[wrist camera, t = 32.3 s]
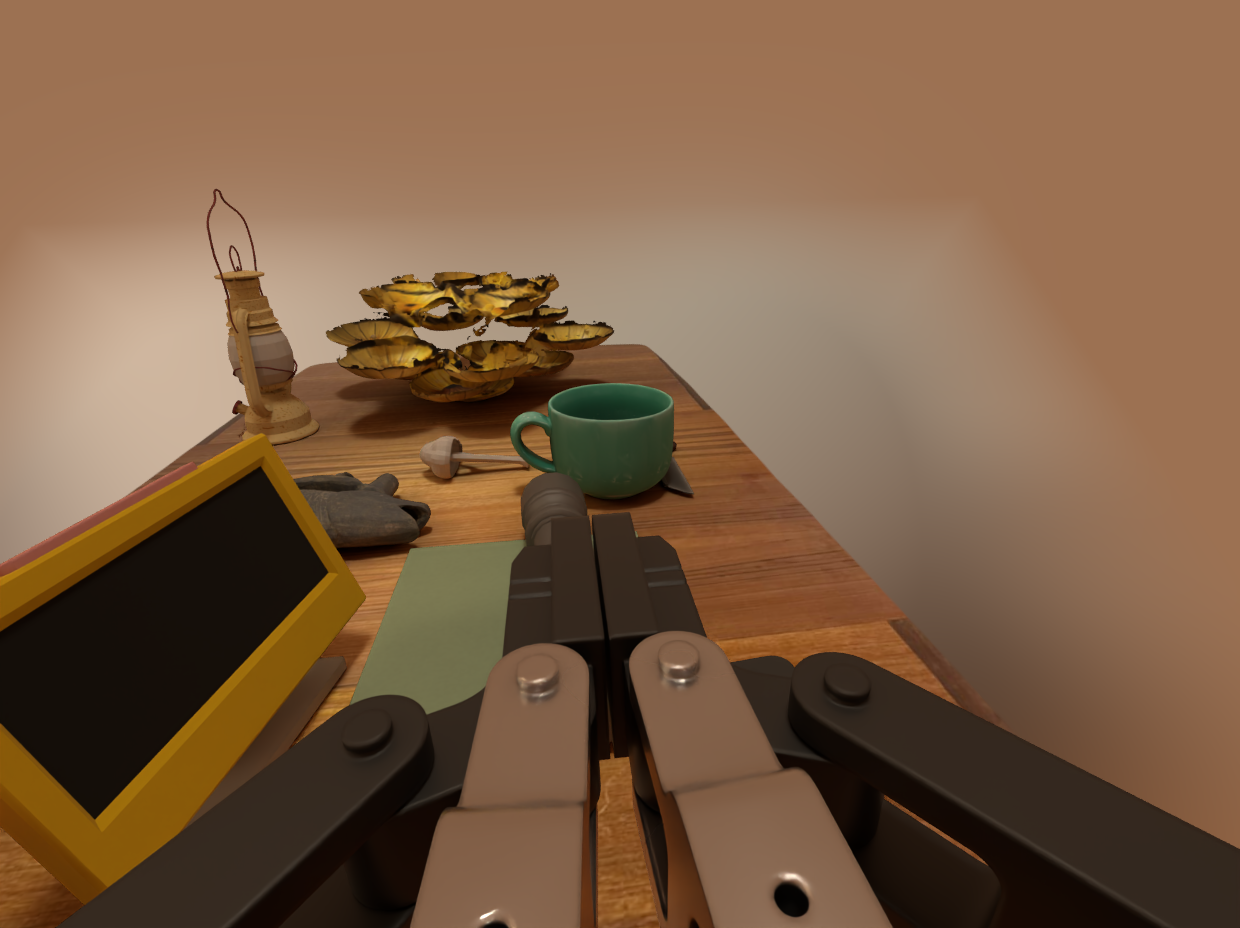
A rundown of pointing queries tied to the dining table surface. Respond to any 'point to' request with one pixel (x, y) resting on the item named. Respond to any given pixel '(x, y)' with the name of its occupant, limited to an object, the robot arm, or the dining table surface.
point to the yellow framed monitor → (162, 660)
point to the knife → (676, 477)
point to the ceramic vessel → (363, 510)
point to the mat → (442, 625)
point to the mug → (605, 437)
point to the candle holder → (550, 510)
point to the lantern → (261, 358)
